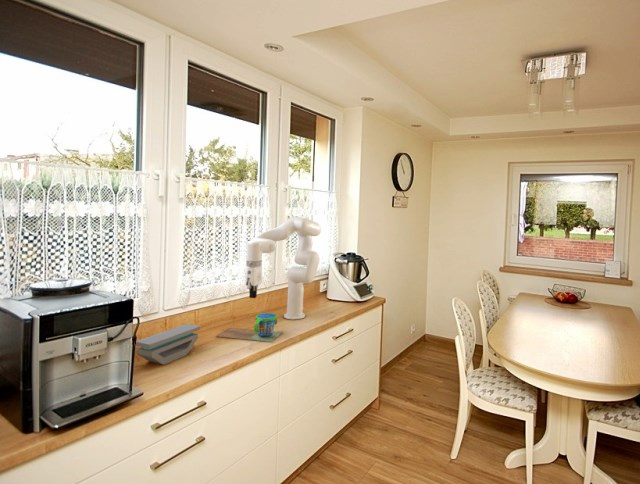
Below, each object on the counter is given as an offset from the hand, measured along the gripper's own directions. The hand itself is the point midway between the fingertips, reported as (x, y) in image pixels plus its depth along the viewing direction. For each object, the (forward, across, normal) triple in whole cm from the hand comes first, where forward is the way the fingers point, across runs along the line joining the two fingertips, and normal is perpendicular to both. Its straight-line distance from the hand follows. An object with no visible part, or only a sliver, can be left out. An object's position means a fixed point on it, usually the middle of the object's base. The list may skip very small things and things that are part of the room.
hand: (253, 297), depth 192 cm
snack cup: (+19, -2, -8) cm, 21 cm away
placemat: (+19, -3, 0) cm, 20 cm away
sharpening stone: (+18, -37, +19) cm, 46 cm away
